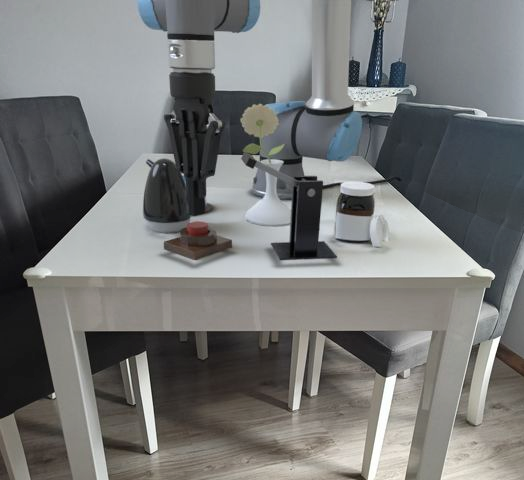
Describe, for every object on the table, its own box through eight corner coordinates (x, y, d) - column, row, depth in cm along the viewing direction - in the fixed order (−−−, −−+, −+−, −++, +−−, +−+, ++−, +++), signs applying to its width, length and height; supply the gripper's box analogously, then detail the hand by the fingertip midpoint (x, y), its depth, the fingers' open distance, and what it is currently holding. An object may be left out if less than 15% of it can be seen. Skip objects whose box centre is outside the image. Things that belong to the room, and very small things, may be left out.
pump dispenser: (169, 222, 119) (165, 152, 111) (202, 232, 113) (200, 158, 106) (134, 232, 112) (126, 158, 104) (166, 243, 106) (161, 165, 99)
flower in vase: (300, 220, 123) (307, 103, 111) (287, 234, 114) (293, 108, 101) (247, 214, 127) (249, 100, 114) (231, 227, 117) (230, 104, 105)
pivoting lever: (244, 168, 89) (250, 154, 88) (239, 161, 94) (245, 148, 93) (314, 202, 94) (321, 189, 93) (306, 194, 99) (312, 182, 98)
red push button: (198, 229, 102) (197, 220, 101) (212, 233, 100) (212, 224, 99) (182, 233, 99) (182, 224, 98) (197, 238, 97) (197, 228, 96)
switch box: (201, 243, 107) (201, 221, 105) (232, 253, 103) (232, 230, 100) (164, 255, 100) (162, 232, 98) (195, 266, 96) (194, 242, 94)
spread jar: (332, 233, 115) (338, 178, 109) (384, 236, 114) (392, 181, 109) (333, 251, 105) (339, 192, 99) (390, 254, 104) (399, 195, 98)
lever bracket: (279, 266, 97) (283, 184, 90) (270, 249, 105) (273, 173, 97) (336, 264, 99) (344, 184, 91) (323, 248, 106) (330, 173, 99)
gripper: (148, 69, 87) (158, 211, 99) (203, 73, 80) (207, 225, 91) (182, 69, 92) (187, 204, 104) (236, 72, 85) (236, 217, 96)
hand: (196, 214), depth 97 cm, fingers closed
